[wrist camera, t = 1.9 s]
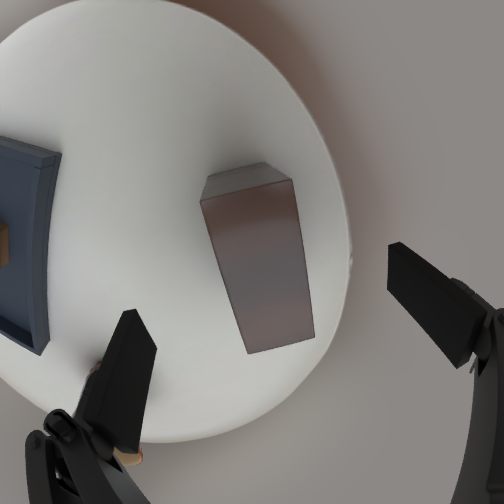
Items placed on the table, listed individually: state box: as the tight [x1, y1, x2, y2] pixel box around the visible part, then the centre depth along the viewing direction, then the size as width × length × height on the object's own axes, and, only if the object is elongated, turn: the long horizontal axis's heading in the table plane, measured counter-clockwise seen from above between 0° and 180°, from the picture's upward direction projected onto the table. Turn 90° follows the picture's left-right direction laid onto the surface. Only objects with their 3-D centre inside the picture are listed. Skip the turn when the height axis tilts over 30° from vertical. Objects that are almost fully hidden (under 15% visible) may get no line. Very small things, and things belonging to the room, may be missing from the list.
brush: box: [200, 162, 315, 354], centre depth 18 cm, size 10×4×8 cm, turn 12°
